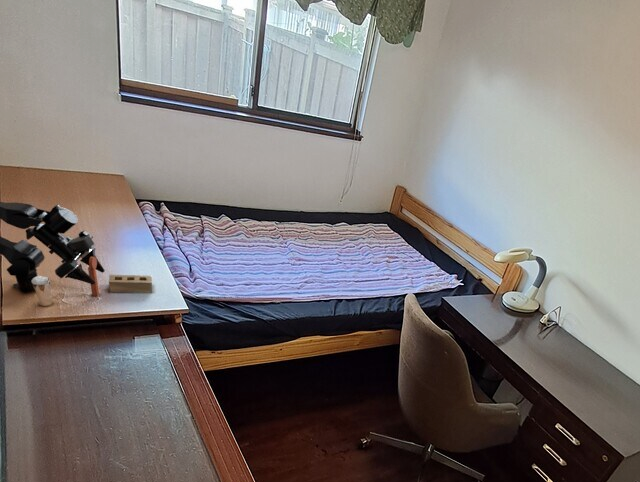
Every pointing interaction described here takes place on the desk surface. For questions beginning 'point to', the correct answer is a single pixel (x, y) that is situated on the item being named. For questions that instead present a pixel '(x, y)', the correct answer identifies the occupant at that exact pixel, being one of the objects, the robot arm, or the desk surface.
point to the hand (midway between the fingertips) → (99, 277)
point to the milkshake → (42, 290)
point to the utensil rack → (130, 283)
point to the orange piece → (93, 275)
